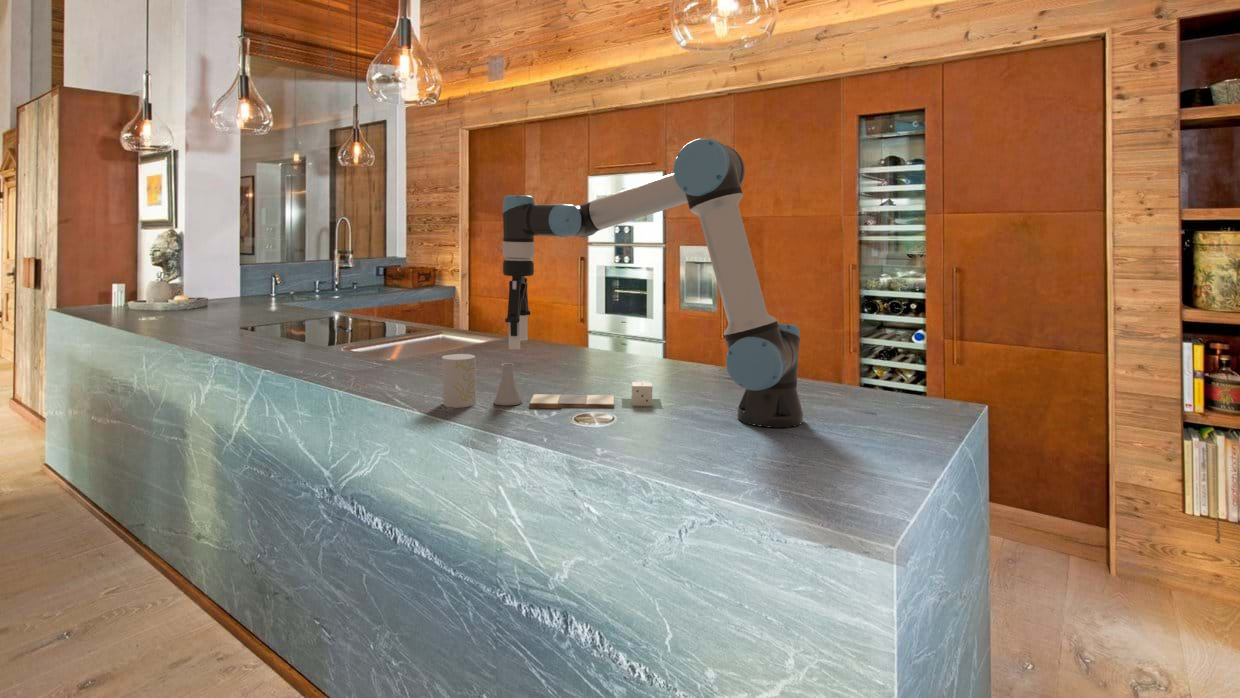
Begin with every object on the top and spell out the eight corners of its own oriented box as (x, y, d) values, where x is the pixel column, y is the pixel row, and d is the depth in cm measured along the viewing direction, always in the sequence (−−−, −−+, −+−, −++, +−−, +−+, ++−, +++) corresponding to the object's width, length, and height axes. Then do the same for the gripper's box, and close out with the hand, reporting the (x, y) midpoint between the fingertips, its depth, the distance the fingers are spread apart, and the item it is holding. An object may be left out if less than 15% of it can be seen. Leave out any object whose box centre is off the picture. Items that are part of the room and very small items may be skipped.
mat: (659, 400, 182) (659, 398, 182) (662, 409, 173) (662, 408, 173) (621, 399, 182) (621, 398, 182) (622, 409, 172) (622, 407, 172)
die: (650, 401, 180) (651, 381, 179) (652, 405, 175) (652, 386, 174) (631, 400, 180) (631, 381, 179) (631, 405, 175) (632, 385, 174)
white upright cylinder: (457, 409, 170) (456, 360, 168) (436, 404, 175) (435, 357, 173) (483, 403, 176) (482, 356, 174) (461, 398, 181) (460, 352, 179)
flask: (519, 406, 173) (519, 367, 172) (490, 406, 173) (490, 367, 172) (524, 400, 180) (524, 362, 179) (496, 399, 181) (496, 361, 179)
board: (613, 399, 182) (614, 395, 182) (614, 408, 172) (614, 404, 172) (533, 398, 182) (533, 394, 182) (529, 407, 172) (529, 403, 172)
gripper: (510, 257, 184) (511, 336, 187) (494, 261, 159) (494, 352, 163) (539, 257, 184) (538, 337, 187) (527, 262, 159) (526, 353, 163)
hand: (518, 344), depth 175 cm, fingers open, 13 cm apart
